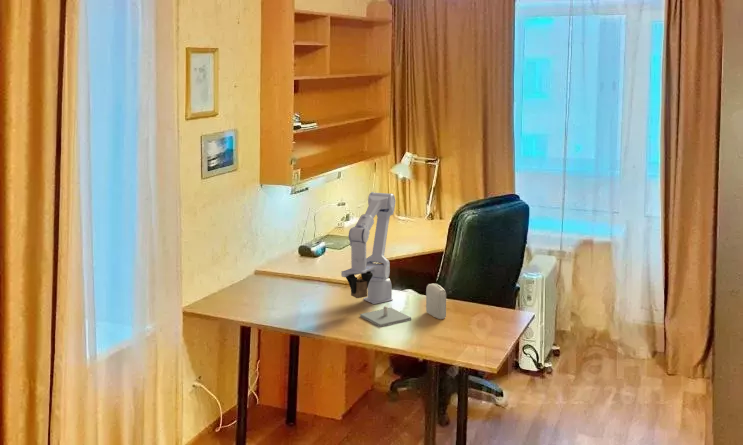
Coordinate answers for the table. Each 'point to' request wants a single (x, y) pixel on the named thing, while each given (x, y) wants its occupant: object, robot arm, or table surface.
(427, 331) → the table surface
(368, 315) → the pin base
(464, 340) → the table surface
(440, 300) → the photo printer
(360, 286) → the hollow wooden block
